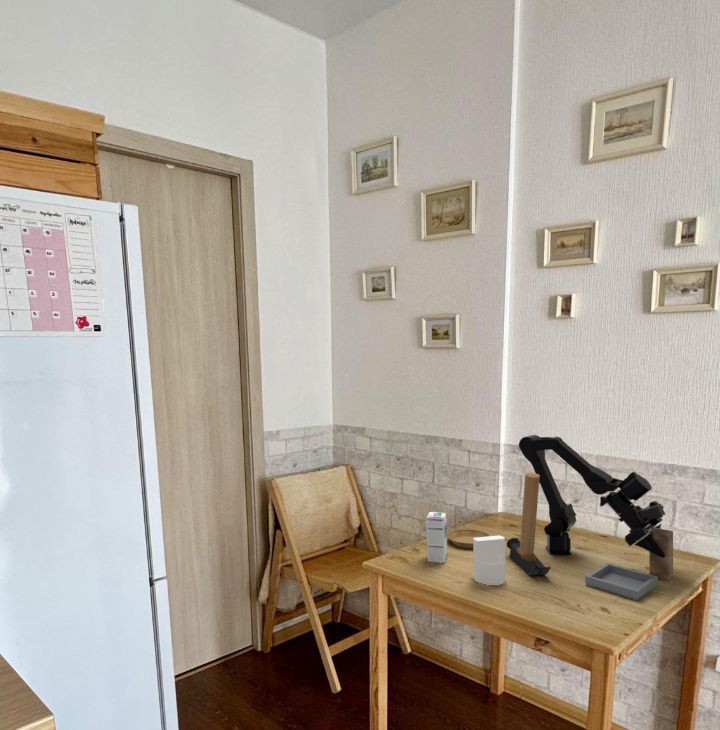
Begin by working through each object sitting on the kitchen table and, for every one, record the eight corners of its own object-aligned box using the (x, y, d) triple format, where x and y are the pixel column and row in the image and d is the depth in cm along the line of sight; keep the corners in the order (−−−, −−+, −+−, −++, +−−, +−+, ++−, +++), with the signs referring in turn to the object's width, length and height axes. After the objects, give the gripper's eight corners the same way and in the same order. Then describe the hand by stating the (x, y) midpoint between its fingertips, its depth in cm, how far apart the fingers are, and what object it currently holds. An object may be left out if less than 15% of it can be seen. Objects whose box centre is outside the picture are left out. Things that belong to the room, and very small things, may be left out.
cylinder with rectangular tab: (481, 587, 152) (480, 544, 152) (468, 574, 161) (468, 534, 161) (511, 584, 154) (510, 542, 154) (497, 571, 163) (496, 532, 163)
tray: (637, 601, 142) (637, 591, 142) (585, 585, 153) (585, 576, 153) (657, 585, 152) (657, 576, 151) (607, 571, 162) (607, 562, 162)
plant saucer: (450, 551, 181) (450, 543, 181) (444, 536, 196) (444, 529, 196) (495, 550, 181) (495, 542, 181) (485, 535, 196) (485, 528, 196)
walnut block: (649, 576, 158) (649, 531, 158) (654, 571, 162) (654, 527, 161) (668, 580, 154) (668, 535, 154) (673, 575, 158) (673, 531, 158)
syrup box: (445, 563, 170) (444, 517, 170) (426, 561, 172) (426, 516, 171) (447, 556, 176) (447, 512, 175) (429, 555, 177) (428, 511, 177)
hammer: (549, 585, 158) (557, 489, 152) (532, 586, 157) (540, 489, 151) (520, 549, 177) (526, 462, 171) (505, 550, 177) (511, 463, 171)
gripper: (636, 500, 153) (681, 547, 146) (654, 487, 167) (696, 530, 160) (607, 522, 159) (649, 569, 152) (627, 508, 173) (666, 551, 165)
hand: (666, 554), depth 157 cm, fingers closed on walnut block, 5 cm apart
